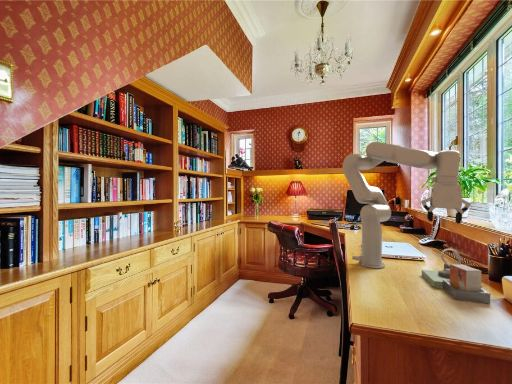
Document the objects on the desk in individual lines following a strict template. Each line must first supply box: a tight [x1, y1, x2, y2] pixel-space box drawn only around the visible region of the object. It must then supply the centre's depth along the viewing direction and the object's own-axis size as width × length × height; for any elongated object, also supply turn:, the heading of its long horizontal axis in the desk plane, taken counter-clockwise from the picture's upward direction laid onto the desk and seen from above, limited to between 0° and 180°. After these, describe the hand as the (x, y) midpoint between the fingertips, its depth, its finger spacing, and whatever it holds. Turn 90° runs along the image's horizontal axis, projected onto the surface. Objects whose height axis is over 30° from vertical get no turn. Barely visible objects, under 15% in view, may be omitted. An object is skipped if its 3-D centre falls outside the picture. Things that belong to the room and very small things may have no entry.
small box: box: [449, 263, 482, 292], centre depth 97 cm, size 8×6×10 cm
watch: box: [440, 248, 462, 271], centre depth 126 cm, size 6×8×11 cm
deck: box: [421, 268, 483, 289], centre depth 111 cm, size 16×16×6 cm
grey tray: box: [442, 279, 491, 305], centre depth 97 cm, size 10×12×4 cm
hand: (443, 222), depth 109 cm, fingers open, 9 cm apart
